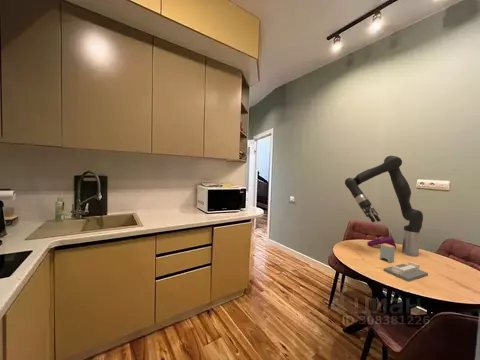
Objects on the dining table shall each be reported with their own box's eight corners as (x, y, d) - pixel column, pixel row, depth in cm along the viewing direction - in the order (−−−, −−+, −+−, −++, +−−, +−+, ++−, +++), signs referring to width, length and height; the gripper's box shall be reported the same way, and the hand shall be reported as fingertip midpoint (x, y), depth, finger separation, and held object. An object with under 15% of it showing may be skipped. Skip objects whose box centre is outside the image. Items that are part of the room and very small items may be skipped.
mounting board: (402, 266, 137) (403, 258, 137) (427, 275, 125) (428, 267, 125) (383, 270, 128) (384, 263, 128) (408, 281, 116) (409, 273, 116)
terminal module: (384, 258, 148) (385, 243, 148) (393, 261, 143) (394, 246, 142) (379, 259, 146) (381, 244, 146) (389, 262, 141) (390, 247, 140)
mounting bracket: (371, 254, 170) (397, 249, 162) (367, 244, 172) (392, 238, 163) (371, 251, 178) (396, 246, 170) (367, 241, 180) (391, 235, 171)
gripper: (363, 198, 152) (377, 219, 144) (371, 199, 161) (385, 218, 153) (353, 204, 157) (367, 224, 149) (362, 204, 165) (376, 223, 157)
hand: (376, 221), depth 151 cm, fingers open, 8 cm apart
